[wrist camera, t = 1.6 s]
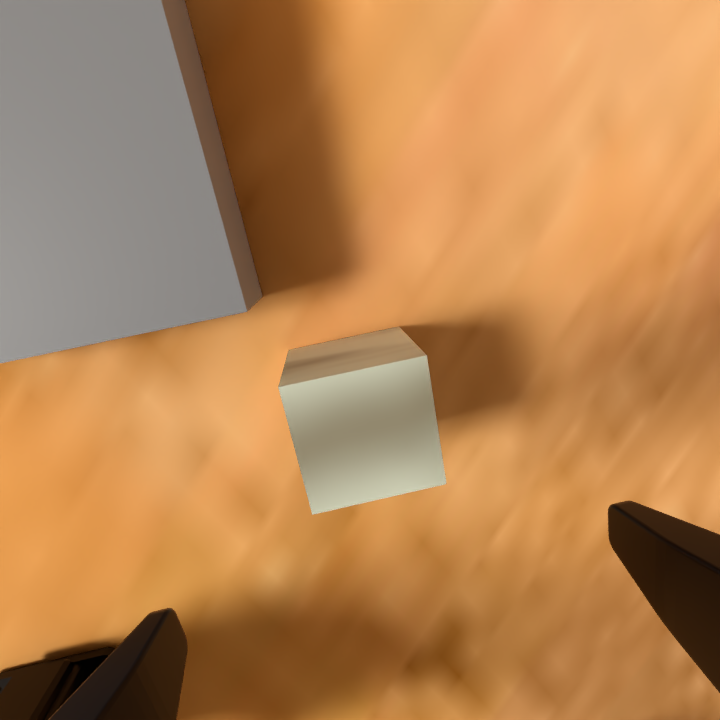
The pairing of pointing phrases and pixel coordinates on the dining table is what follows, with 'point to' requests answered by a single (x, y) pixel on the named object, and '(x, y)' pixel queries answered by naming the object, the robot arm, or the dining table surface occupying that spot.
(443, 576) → the dining table surface
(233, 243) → the plinth
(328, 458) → the cube
